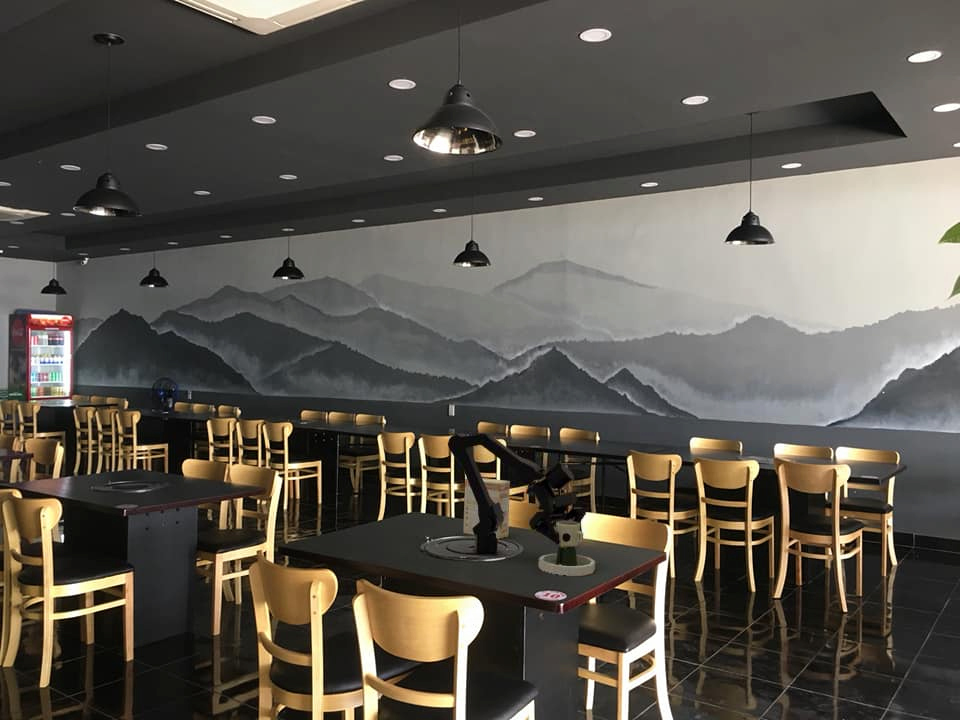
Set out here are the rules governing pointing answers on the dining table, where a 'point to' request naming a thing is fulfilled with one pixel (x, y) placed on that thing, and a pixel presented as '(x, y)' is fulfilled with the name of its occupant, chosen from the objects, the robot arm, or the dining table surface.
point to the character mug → (568, 542)
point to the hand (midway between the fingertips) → (570, 542)
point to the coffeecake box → (498, 493)
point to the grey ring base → (582, 568)
